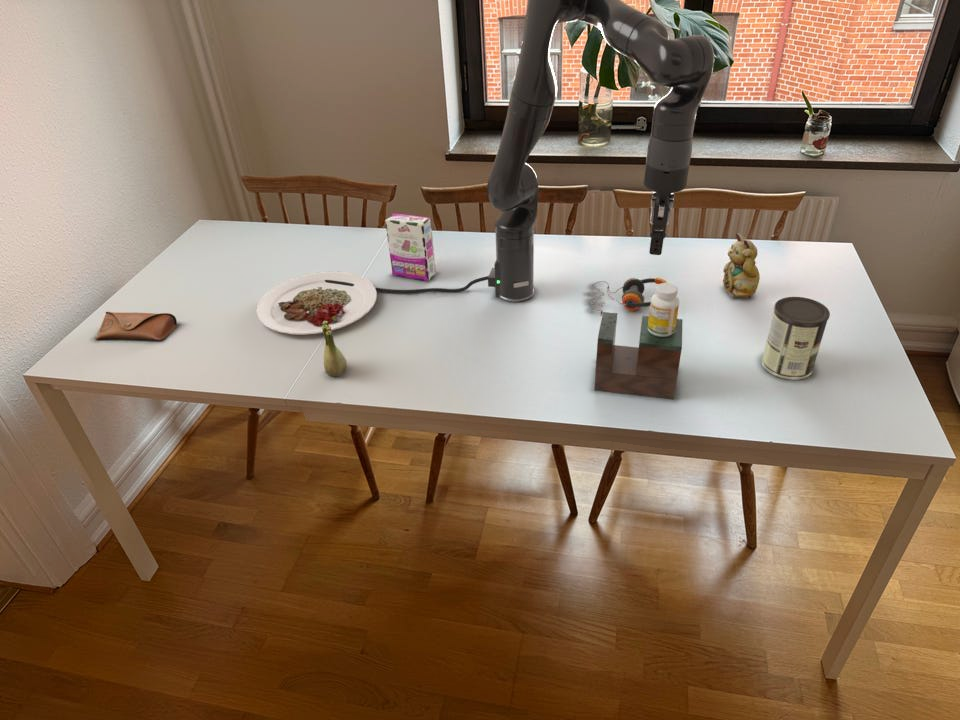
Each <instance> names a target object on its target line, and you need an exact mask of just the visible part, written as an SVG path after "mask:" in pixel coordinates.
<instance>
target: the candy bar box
mask: <svg viewBox="0 0 960 720" xmlns="http://www.w3.org/2000/svg"><path fill="white" fill-rule="evenodd" d="M384 222H385V231H386V236H387V243H388V245H387V246H388V252H389V258H390V259H389V260H390V265H391V273H392V274H391V275H392V276H393V277H399V278H405V279H411V280H417V281H424V282H430V280H432V278H433V277H435V275H436V273H437V271H436V263H435V262H436V261H435V250H434V241H433V240H434V239H433V230H432V220H431V217H426V216H419V215H410V214H403V213H402V214H401V213H392V214H391V215H390V216H388V217H386V219H384Z"/></svg>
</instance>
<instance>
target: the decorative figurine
mask: <svg viewBox="0 0 960 720" xmlns="http://www.w3.org/2000/svg"><path fill="white" fill-rule="evenodd" d="M735 236H736V241H734V242H733V243H731V246H730V247H729V249H728V251H727V256H728V257H729V261H727V262H726V263H725V265H724V267H723V269H722V270H723V273H724V274H723V278H722V285H723V288H724V290H725V292H726V293H727V294H728V295H729V296H730V298H731V299H739V298H740V299H749V298H751V297H752V296H753V295H755V293H756V291H757V290H758V287H759V284H760V279H761V278H760V277H761V276H760V272H759V269H758V266H757V265H756V264H757V262H756V258H757V257H758V248H757V246H756V245H755V244H754V242H752V241H751V240H749V239H747V238H746V237H745V236H744V235H743V234H741V233H739V232H736V233H735Z"/></svg>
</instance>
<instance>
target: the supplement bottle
mask: <svg viewBox="0 0 960 720" xmlns="http://www.w3.org/2000/svg"><path fill="white" fill-rule="evenodd" d="M678 291H679V288H678V287H677V286H676V285H675V284H673V283H670V282H667V283H661V284H656V287H655V293H654V294H653V295H652V297H651V298H650V301H651V303H650V306H649V312H648V316H649V319H648V331H649V332H650V333H651V334H653V335H655V336H659V337H667V336H670V335H672V334H673V333H674V331H675V326H676V320H677V319H678V312H679V307H680V299H679V297H678Z"/></svg>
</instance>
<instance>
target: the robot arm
mask: <svg viewBox="0 0 960 720" xmlns="http://www.w3.org/2000/svg"><path fill="white" fill-rule="evenodd" d="M576 21H577V22H583V23H585V24H589V25H592V26H594V27H596V28H598V30H600V31H601V34H602V36H603V38H604V40H605V42H606V43H607V44H608V45H609V46H610V47H611V48H612V49H613V50H615V51H616V52H618V53H620V54H621V55H623V56H624V57H626V58H628V59H630V60H631V61H634V62H635V63H636V65H638V67H639V68H640V69H641V70H642V72H643V73H644V74H645V76H647V78H648V79H649V80H650V81H651V82H653V83H654V84H656V85H658V86H660V87H664V88H671V89H670V91H669V92H668V93H667V94H666V95H665V96H663V97H662V98H661V99H658V101H656V103H655V104H654V107H653V113H652V121H651V128H650V136H649V140H648V144H647V149H646V157H645V166H644V175H643V185H644V187H645V188H646V189H648V190H649V191H651V192H652V193H651V199H650V208H651V210H650V218H649V224H651V230H650V233H649V234H650V235H649V236H650V242H649V243H650V244H649V251H648V252H649V255H653V256H661V255H662V252H663V245H664V239H665V238H666V237H667V232H666V231H667V226H668V225H669V224H670V221H671V213H672V210H673V208H674V203H675V202H674V201H675V193H679V192H681V191H684V190H685V189H686V187H687V183H688V177H689V171H690V164H691V158H692V152H693V137H694V136H693V135H694V131H695V124H696V116H697V111H698V109H699V107H700V105H701V103H702V100H703V98H704V95H705V93H706V90H707V87H708V86H709V83H710V80H711V78H712V74H713V71H714V67H715V51H714V47H713V44H712V43H711V41H710V39H708V37H706V36H705V35H701V34H692V35H688V36H682V37H677V38H673V39H671V38H669V31H668V29H667V27H666V26H665V25H664V24H663V23H662V22H660V21H659V20H657V19H655V18H654V17H652V16H650V15H648V14H646V13H644V12H642V11H640V10H639V9H636V8H634V7H632V6H630V5H629V4H627V3H625V2H624V1H622V0H527V4H526V11H525V18H524V27H523V35H522V40H521V47H520V53H519V56H518V57H519V58H518V63H517V68H516V72H515V77H514V81H513V83H512V84H513V85H512V89H511V92H510V97H509V102H508V107H507V112H506V117H505V121H504V124H503V129H502V134H501V137H500V142H499V146H498V149H497V153H496V156H495V158H494V162H493V164H492V167H491V170H490V172H489V176H488V180H487V186H486V192H487V193H486V194H487V197H488V200H489V202H490V204H491V206H492V207H493V208H494V209H496V210H497V211H500V214H499V215H498V217H497V218H496V219H495V223H494V230H495V256H496V257H495V258H496V260H495V261H494V265H493V267H492V268H491V270H490V272H489V274H488V275H486V276H481V277H479V278H476V279H473V280H471V281H470V282H468V283H467V284H466V285H464V286H463V287H460V288H443V287H431V288H430V287H429V288H417V289H393V288H392V289H391V288H381V287H375V289H376V292H379V293H380V292H381V293H388V294H389V293H391V294H418V293H430V292H435V293H436V292H438V293H439V292H440V293H461V292H464V291H466V290H468V289H469V288H471V286H473V285H474V284H477V283H480V282H484V281H487V287H489V288H494V289H495V290H494V291H495V292H494V293H495V298H500V299H501V300H503V301H505V302H510V303H518V302H519V303H520V302H524V301H527V300H529V299H531V298H533V296H534V294H535V289H534V287H535V284H534V273H535V271H534V269H535V268H534V266H535V265H534V260H535V259H534V255H535V254H534V251H535V250H534V242H535V241H534V238H535V237H534V236H535V234H534V233H535V232H534V227H535V223H536V222H537V219H538V210H539V209H538V207H539V179H538V177H537V174H536V172H535V170H534V169H533V167H532V166H531V165H529V164H528V163H527V160H528V158H529V157H530V155H531V153H532V151H533V150H534V148H535V147H536V145H537V144H538V142H539V141H540V139H541V137H542V136H543V134H544V132H545V131H546V129H547V127H548V125H549V122H550V120H551V116H552V113H553V110H554V106H555V102H556V100H557V95H558V94H557V93H558V85H557V80H556V76H555V72H554V69H553V65H552V62H551V57H550V48H551V43H552V38H553V33H554V30H555V26H556V24H563V23H572V22H576ZM325 282H327V283H333V284H341V285H347V286H354V284H352V283H347V282H341V281H333V280H325Z"/></svg>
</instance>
